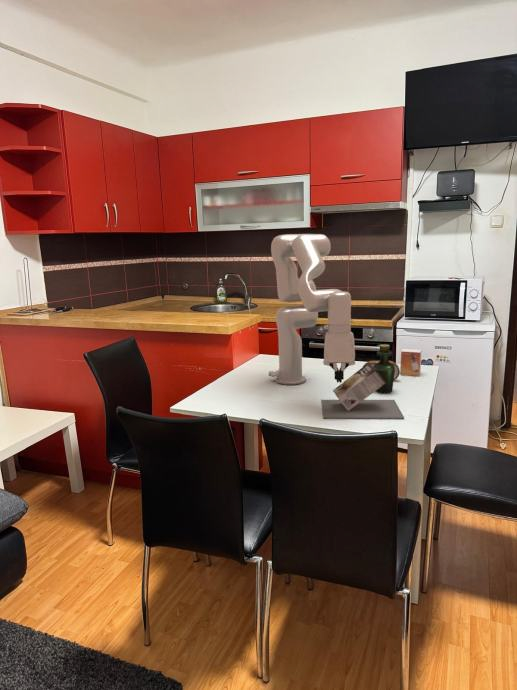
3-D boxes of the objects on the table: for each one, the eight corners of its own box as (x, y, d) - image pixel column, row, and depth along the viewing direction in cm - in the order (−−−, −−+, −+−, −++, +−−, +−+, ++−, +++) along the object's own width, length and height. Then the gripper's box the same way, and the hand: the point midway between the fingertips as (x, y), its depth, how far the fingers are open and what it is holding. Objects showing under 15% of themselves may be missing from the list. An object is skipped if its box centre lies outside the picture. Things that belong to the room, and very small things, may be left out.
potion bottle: (373, 387, 194) (374, 342, 190) (395, 388, 191) (396, 343, 187) (371, 393, 186) (372, 347, 182) (393, 395, 183) (394, 348, 180)
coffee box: (331, 389, 173) (368, 361, 172) (342, 403, 175) (378, 375, 173) (337, 398, 164) (376, 368, 163) (348, 412, 166) (387, 382, 164)
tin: (398, 379, 203) (399, 360, 201) (400, 382, 200) (400, 362, 198) (361, 379, 204) (362, 360, 203) (362, 382, 201) (362, 362, 200)
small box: (399, 375, 209) (400, 351, 207) (401, 371, 214) (402, 348, 212) (419, 376, 206) (420, 352, 204) (420, 373, 211) (421, 349, 209)
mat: (323, 418, 162) (323, 417, 162) (321, 401, 179) (321, 399, 179) (404, 419, 159) (404, 417, 159) (394, 401, 177) (394, 399, 177)
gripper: (316, 331, 161) (317, 384, 165) (363, 330, 159) (362, 384, 163) (316, 327, 168) (316, 378, 172) (360, 326, 167) (360, 378, 171)
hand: (339, 381), depth 168 cm, fingers closed
